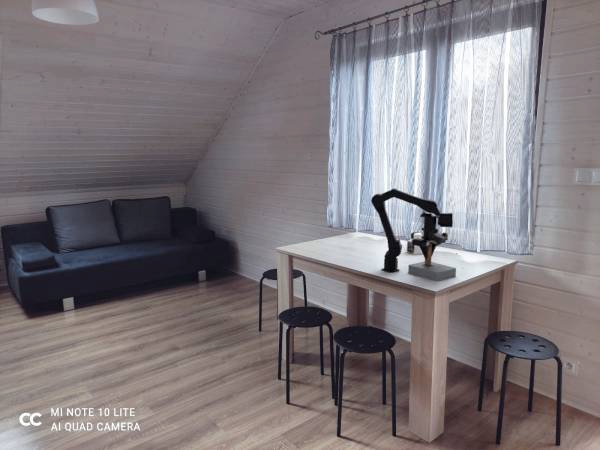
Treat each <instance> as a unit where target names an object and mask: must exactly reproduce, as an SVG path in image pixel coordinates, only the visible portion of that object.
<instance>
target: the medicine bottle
mask: <svg viewBox="0 0 600 450" xmlns="http://www.w3.org/2000/svg"><path fill="white" fill-rule="evenodd" d="M422 234H423V233H421V232H417V231H415V232H411V233H410V239H408V240H407V242H406V252H407V253H409V254H410V255H413V256H415V255H423V253H422V251H421V249H420V247H419V246H416V245H412V240H413V239H416V238H420V239H422V238H421V236H423V235H422Z"/></svg>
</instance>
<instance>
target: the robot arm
mask: <svg viewBox="0 0 600 450" xmlns="http://www.w3.org/2000/svg"><path fill="white" fill-rule="evenodd" d="M393 198H396V199H398V200H401V201H403V202H407V203H408V204H412V205H414V206H417V207H418V208H420V209H421V210H423V212H422V213H420V215H419V216H420V218H423V227H422V228H421V231H423V233H422V234H423V235H422V236H421V239H420V238H416V239H413V240H412V245H416V246H419V247H420V249H421V251H422V253H423V254H422V255H423V257H424V259H425V258H426V259H427V256H428V249H429V247H430V245H429V243H431V244H432V254H431V258H432V257H433V254H434V252H435V250H436V248H437V247H439V246H440V245H444V244H445V243H446V242H447V240H448V237H449V236H448V235H449V234H448V233H447V232H443V233H441V232H439V229H438V228H437V225H438V226H439V227H440V228H441V227H442V228H453V224H454V221H453V220H454V219H453V212H441V210H439V208H438V204H437V202H436V201H435V200H433V199H429V198H422V197H418V196H416V195H413V194H411V193H408V192H404V191H402V190H399V189H398V188H394V187H393V188H391V189H390V190H387V191H385V192H383V193H375V194H374V195H373V196H372V197H371V200H370V201H371V205H372V206H373V208H374V210H375V211H376V212H377V214H378V216H379V217H378V218H379V220H380V223H381V225H382V228H383V231H384V234H385V236H386V239H387V248H388V250H387V251H386V252H385V254H384V257H383V259H384V262H383V263H384V264H383V268H381V271H384V272H387V273H395V272H399V271H400V269H398V266H399V265H398V264H399V263H398V262H399V261H398V260H399V259H398V257H400V256H401V254H402V249H403V244H402V243H401V239H400V238H399V239H397V238H396V235H395V233H394V230H393V226H392V224H391V221H390V219H389V216H388V211H387V210H386V202H387V201H389V200H390V199H393Z"/></svg>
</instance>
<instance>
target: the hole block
mask: <svg viewBox="0 0 600 450" xmlns="http://www.w3.org/2000/svg"><path fill="white" fill-rule="evenodd" d="M407 272H408V274H411V275H414V276H418V277H422V278H424V279H429V280H431V281H434V282H438V281H439V282H440V281H442V280H447V279H450V278H455V277H456V275H457V267H453V266H449V265H446V264H441V263H437V262H433V261H431V265H426V264H425V260H424V261H419V262H416V263H411V264H408V271H407Z"/></svg>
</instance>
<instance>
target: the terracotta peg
mask: <svg viewBox="0 0 600 450" xmlns="http://www.w3.org/2000/svg"><path fill="white" fill-rule="evenodd" d="M429 245H430V247H429V249H428V256H427V259H426V258H424V261H425V264H426V265H431V262H432V257H431V254H432V244H431V243H429Z"/></svg>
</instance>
